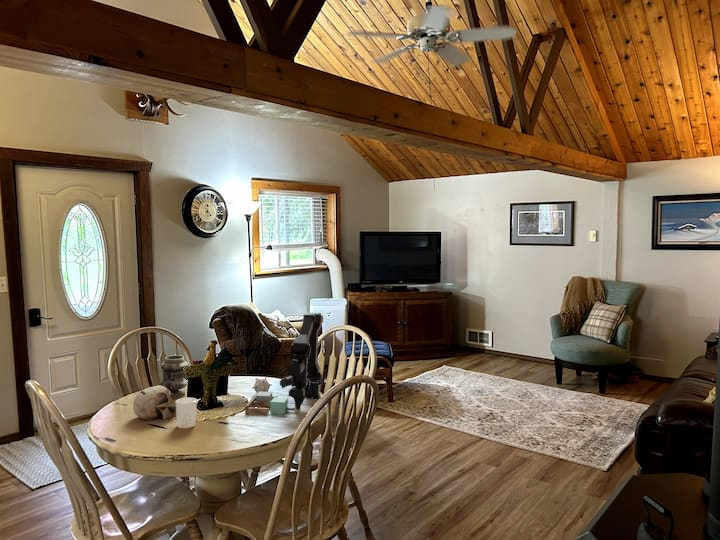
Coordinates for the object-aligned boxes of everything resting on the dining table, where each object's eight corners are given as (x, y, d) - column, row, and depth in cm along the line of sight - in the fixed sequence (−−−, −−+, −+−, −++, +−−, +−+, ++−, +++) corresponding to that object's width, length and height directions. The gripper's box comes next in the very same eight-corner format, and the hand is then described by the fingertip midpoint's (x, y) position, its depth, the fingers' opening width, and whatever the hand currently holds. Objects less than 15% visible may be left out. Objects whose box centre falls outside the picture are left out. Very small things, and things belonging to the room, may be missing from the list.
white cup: (177, 430, 196) (177, 404, 195) (174, 423, 202) (174, 398, 202) (198, 427, 199) (198, 402, 199) (194, 420, 206) (194, 396, 206)
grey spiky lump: (264, 403, 241) (269, 390, 236) (247, 396, 241) (251, 383, 236) (271, 389, 249) (275, 376, 243) (255, 382, 249) (259, 369, 243)
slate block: (272, 402, 231) (272, 391, 231) (269, 407, 225) (269, 396, 225) (259, 402, 232) (259, 391, 231) (255, 406, 226) (255, 395, 225)
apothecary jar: (182, 399, 233) (182, 360, 232) (156, 398, 233) (156, 359, 232) (191, 391, 245) (191, 354, 244) (166, 390, 245) (166, 353, 244)
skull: (187, 410, 218) (185, 380, 216) (162, 428, 201) (158, 396, 199) (156, 407, 222) (153, 378, 220) (128, 425, 205) (125, 393, 203)
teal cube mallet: (302, 410, 222) (302, 392, 221) (298, 414, 216) (299, 396, 215) (274, 408, 223) (274, 390, 223) (270, 413, 217) (270, 394, 217)
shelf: (277, 401, 233) (277, 393, 233) (268, 414, 215) (268, 406, 215) (256, 400, 234) (256, 393, 233) (245, 413, 216) (245, 405, 215)
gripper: (286, 364, 228) (285, 399, 229) (276, 375, 209) (276, 413, 210) (310, 365, 227) (310, 400, 228) (303, 376, 208) (302, 414, 209)
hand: (299, 406), depth 219 cm, fingers open, 8 cm apart
